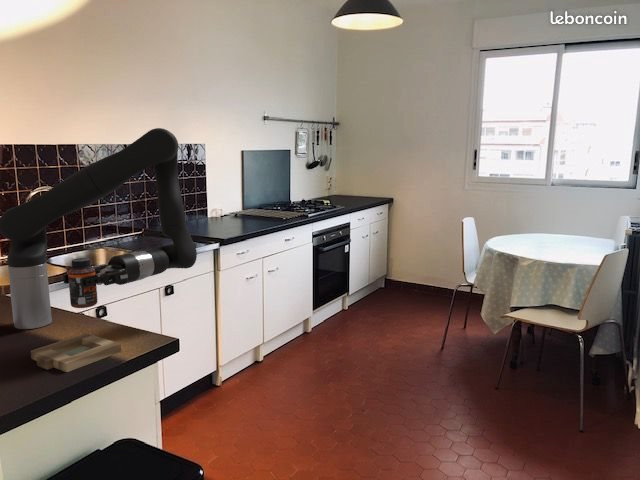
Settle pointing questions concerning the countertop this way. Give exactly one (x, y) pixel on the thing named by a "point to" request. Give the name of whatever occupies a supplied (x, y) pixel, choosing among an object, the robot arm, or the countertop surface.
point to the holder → (74, 352)
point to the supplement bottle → (78, 294)
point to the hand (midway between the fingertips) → (72, 281)
